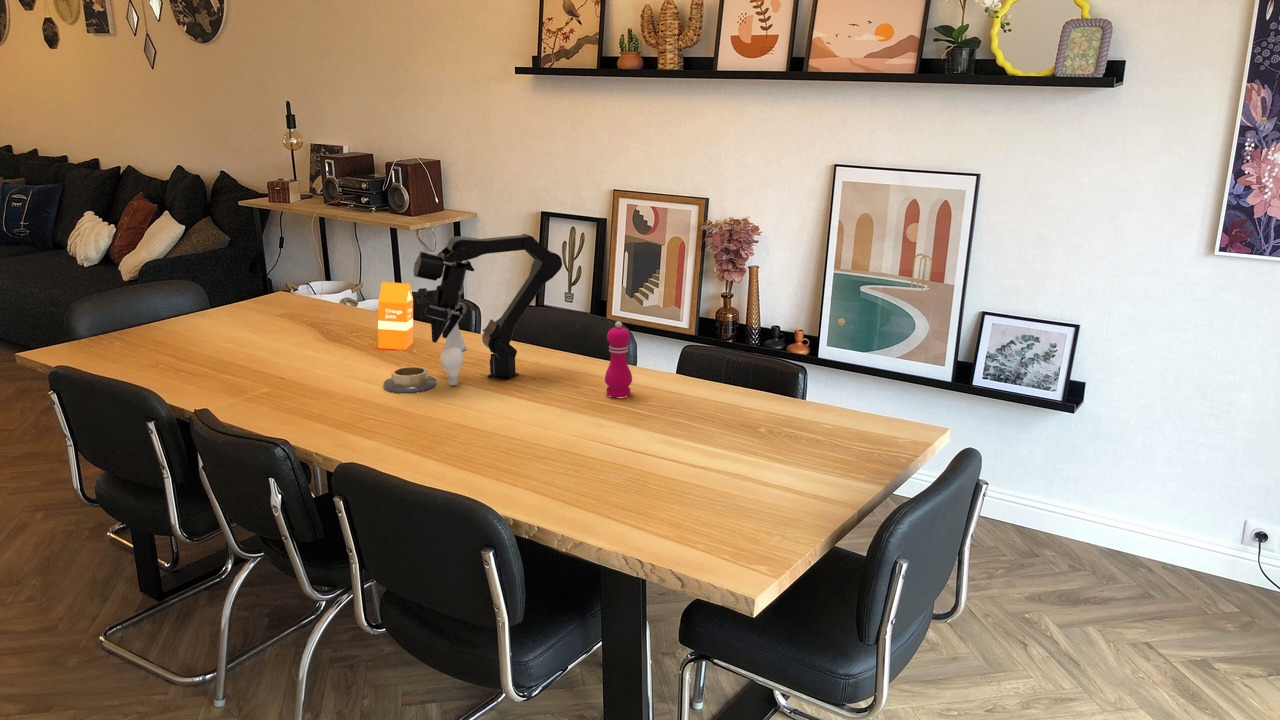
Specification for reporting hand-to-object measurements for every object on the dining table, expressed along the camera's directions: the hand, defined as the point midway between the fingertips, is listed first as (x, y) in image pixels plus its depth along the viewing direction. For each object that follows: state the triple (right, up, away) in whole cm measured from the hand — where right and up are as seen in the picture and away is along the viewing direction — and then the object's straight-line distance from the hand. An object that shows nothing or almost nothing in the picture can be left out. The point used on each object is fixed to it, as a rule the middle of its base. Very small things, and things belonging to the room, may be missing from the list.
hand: (439, 340), depth 252 cm
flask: (-3, -2, +37) cm, 37 cm away
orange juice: (-22, -1, +40) cm, 45 cm away
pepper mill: (+48, -15, -4) cm, 51 cm away
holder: (-8, -12, +2) cm, 15 cm away
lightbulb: (+4, -13, +2) cm, 13 cm away
